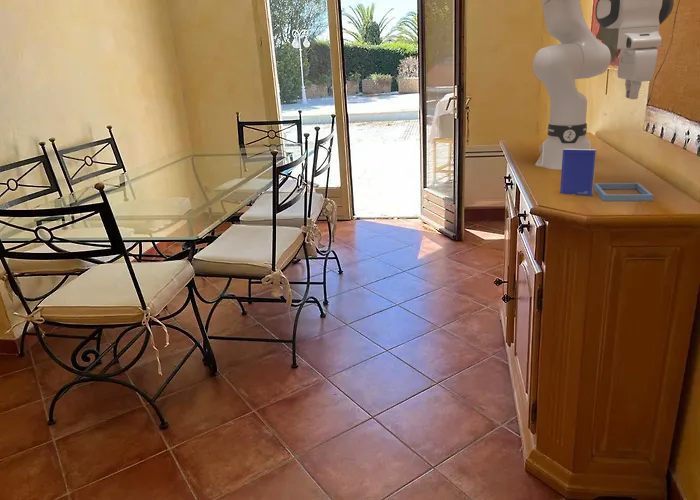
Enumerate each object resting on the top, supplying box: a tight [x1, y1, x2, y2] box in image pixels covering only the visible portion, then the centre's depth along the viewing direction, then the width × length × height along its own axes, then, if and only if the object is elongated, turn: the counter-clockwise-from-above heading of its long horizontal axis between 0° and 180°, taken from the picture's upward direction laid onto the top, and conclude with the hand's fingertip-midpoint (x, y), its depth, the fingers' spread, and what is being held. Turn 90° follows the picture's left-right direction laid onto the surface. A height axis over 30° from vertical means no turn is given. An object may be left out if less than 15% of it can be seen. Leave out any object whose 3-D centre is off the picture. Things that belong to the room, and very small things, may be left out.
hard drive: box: [559, 148, 597, 197], centre depth 147 cm, size 2×8×12 cm, turn 61°
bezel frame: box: [593, 182, 654, 202], centre depth 146 cm, size 14×12×2 cm
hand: (631, 98), depth 138 cm, fingers closed
